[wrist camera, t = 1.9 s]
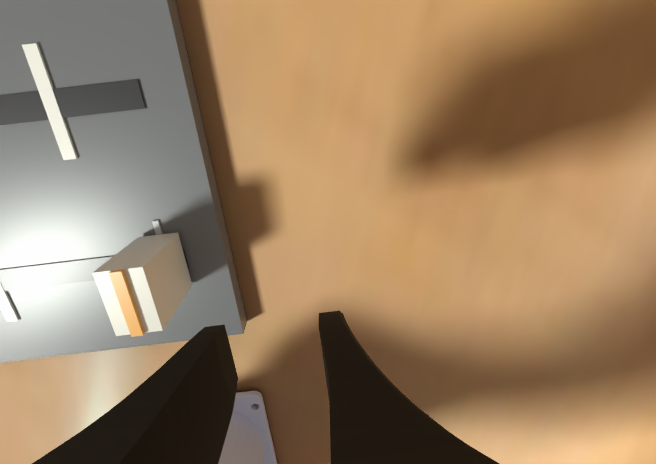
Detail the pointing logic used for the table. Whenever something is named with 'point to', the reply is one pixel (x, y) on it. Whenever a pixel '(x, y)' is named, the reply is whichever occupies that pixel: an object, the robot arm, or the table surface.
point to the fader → (144, 284)
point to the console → (101, 172)
